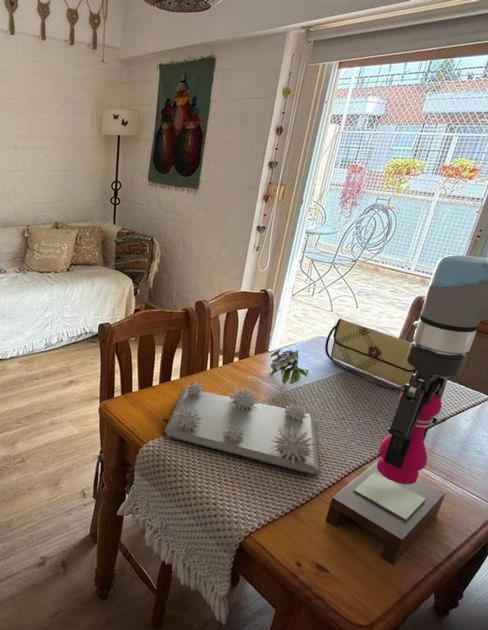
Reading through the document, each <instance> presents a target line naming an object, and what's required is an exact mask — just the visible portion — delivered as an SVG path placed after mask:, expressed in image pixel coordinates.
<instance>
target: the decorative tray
mask: <svg viewBox="0 0 488 630" xmlns="http://www.w3.org/2000/svg"><path fill="white" fill-rule="evenodd" d="M198 383H199V381H197V382H196V381H194V382H193V381H191V382H188V384H189V385H186V386H187V387H185V388H184V389H182V391H181V393H180V396H179V398H178V400H177V402H176V404H175V406H174V409H173V411H172V413H171V416H170V418H169V420H168V423H167V424H166V427H165V429H164V433H165V434H166V436H167V437H169V438H171V439H175V440H178V441H183V442H187V443H191V444H194V445H198V446H202V447H206V448H210V449H212V450H217V451H220V452H226V453H229V454H232V455H236V456H240V457H244V458H248V459H251V460H255V461H258V462H263V463H266V464H271V465H275V466H278V467H282V468H285V469H290V470H293V471H296V472H301V473H305V474H307V475H315V474H318V473H319V472H320V469H319V468H320V467H319V459H318V458H319V455H318V444H317V434H316V432H317V431H316V422H315V421H316V420H315V418H314V417H313V415H312V414H311V413H308V412H307V408H304V405H302V406H300V403H297V405H296V402H294V404H293V403H291V402H289V403H290V404H289V405H290V406H289V405H288V404H286V408H285V407H278V406H274V405H270V404H265V403H261V402H257V401H256V400H259V398H258V397H257V396H256V395H257V393H255V392H254V389H252V390H251V391H249V387H247V388H246V387H244V386H242V390H241V388H240V387H239V386H237V389H238V391H237V390H235V389H233V391H234V393H232V392H230V395H231V396H227V395H223V394H219V393H214V392H209V391H205V390H204V389H203V385H202V384H201V383H199V384H198ZM254 393H255V394H254Z"/></svg>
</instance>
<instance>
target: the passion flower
mask: <svg viewBox="0 0 488 630" xmlns="http://www.w3.org/2000/svg"><path fill="white" fill-rule="evenodd" d="M282 350H283V349H282V348H279V349H277V350H276V351H274V352H273V353H272V354H270V358H273V357H275V356H276V357H275V358H274V359H272V363H271V364H270V368H271V369H272V370H271V371H270V374H271V375H273V374H276V373H277V372H278V371H280V374H281V375H282V377H281V383H282V384H283V385H284V386H286V385H287V382H288V381H289V380H290V381H289V385H293V384H295V383H298V382H299V381H300V380H301V378H302V376H304V377H305V378H307V377H308V374H309V371H310V369H306V368H305V369H304V368H300V367H299V350H297V349H296V350H295V351H294V350H285V351H282ZM281 351H282V353H281ZM301 375H302V376H301Z"/></svg>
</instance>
